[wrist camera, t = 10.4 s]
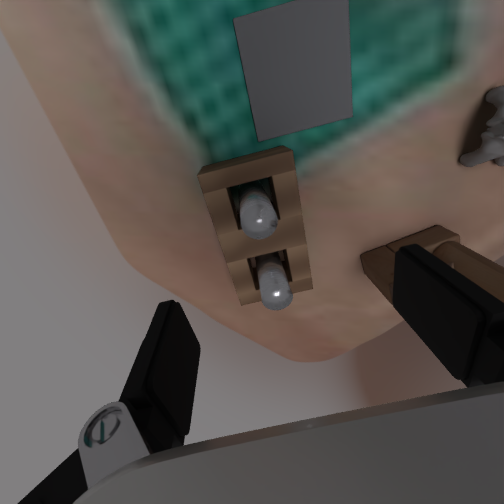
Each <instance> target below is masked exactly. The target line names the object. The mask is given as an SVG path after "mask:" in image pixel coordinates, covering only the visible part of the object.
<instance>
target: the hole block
mask: <svg viewBox="0 0 504 504" xmlns="http://www.w3.org/2000/svg"><path fill="white" fill-rule="evenodd" d="M197 177H198V180H199V183H200V186H201V189H202V192H203V195H204V198H205V201H206V204H207V206H208V209H209V212H210V215H211V218H212V221H213V224H214V227H215V230H216V233H217V236H218V239H219V242H220V245H221V248H222V251H223V254H224V257H225V260H226V263H227V266H228V268H229V271H230V274H231V277H232V280H233V283H234V286H235V289H236V292H237V295H238V298H239V301H240V304H241V306H242V305H246V304H250V303H255V302H259V301H262V298H261V292H260V286H259V279H258V273H257V267H255V268H252V264H251V260H250V258H251V257H255V256H259V255H263V254H267V253H271V252H276V251H280V250H283V254H284V259H285V260H284V261H281V262H282V265H283V268H284V271H285V274H286V277H287V280H288V283H289V285H290V288H291V291H292V294H293V293H297V292H302V291H306V290H310V289H313V284H312V277H311V270H310V264H309V257H308V250H307V243H306V237H305V230H304V223H303V217H302V210H301V203H300V196H299V190H298V183H297V176H296V169H295V163H294V156H293V150H291V149H289V148H287V147H285V146H283V145H282V146H279V147H275V148H271V149H267V150H264V151H260V152H256V153H252V154H249V155H245V156H241V157H237V158H234V159H230V160H226V161H222V162H218V163H215V164H211V165H207V166H203V167H202V169H201V170H200V172H199V173H198V175H197ZM266 177H268V180H269V185H270V190H271V195H272V200H273V205H272V206H273V208H274V211H275V213H276V215H277V218H278V224H277V228H276V230H275V231H274V233H273V234H272V235H270V236H269V237H267V238H264V239H253V238H250V237H249V236H247V235H246V234H245V233H244V231H243V230H242V227H241V218H240V214H237V211H236V207H235V204H234V200H233V197H232V193H231V190H230V187H232V186H235V185H239V184H243V183H247V182H251V181H255V180H258V179H262V178H266Z"/></svg>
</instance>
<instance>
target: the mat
mask: <svg viewBox="0 0 504 504" xmlns="http://www.w3.org/2000/svg"><path fill="white" fill-rule="evenodd" d="M233 23H234V27H235V32H236V37H237V42H238V47H239V51H240V56H241V61H242V66H243V71H244V76H245V80H246V85H247V90H248V95H249V100H250V104H251V109H252V114H253V119H254V124H255V128H256V133H257V138H258V142H260V141H264V140H268V139H271V138H275V137H279V136H283V135H286V134H290V133H294V132H297V131H301V130H305V129H309V128H312V127H316V126H320V125H324V124H327V123H331V122H335V121H339V120H342V119H346V118H350V117H353V111H352V83H351V56H350V29H349V1H348V0H295V1H291V2H288V3H285V4H281V5H278V6H275V7H271V8H268V9H264V10H261V11H258V12H254V13H251V14H247V15H244V16H241V17H237V18H234V19H233Z"/></svg>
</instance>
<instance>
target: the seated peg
mask: <svg viewBox="0 0 504 504" xmlns="http://www.w3.org/2000/svg"><path fill="white" fill-rule="evenodd" d="M255 261H256V267H257V273H258V279H259V286H260V292H261V298H262V303H263V305H264V306H265V307H267V308H268V309H271V310H281V309H284V308H286V307H287V306H288V305H289V304H290V303H291V301H292V299H293V294H292V291H291V288H290V285H289V283H288V280H287V277H286V274H285V271H284V268H283V265H282V262H281V259H280V256H279V253H278V251H276V252H271V253H267V254H263V255H259V256H255Z"/></svg>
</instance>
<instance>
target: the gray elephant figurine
mask: <svg viewBox="0 0 504 504" xmlns="http://www.w3.org/2000/svg"><path fill="white" fill-rule="evenodd" d="M486 101H487V102H489V103H493V104H494V105H495V107H496V108H497V111H496V113H495V115H494V116H493V117H492V118H491V119H490V120H488V121H487V123H486V125H487V126H488V127H490V128H488V129H487V131H486V132H483V133H482V134H481V138H482V145H481V148H479V149H477V150H476V151H474V152H471V153H466V154H464V155H462V156H461V158H460V162H461V164H462V165H464V166H466V167H473V166H475V165H477V164H481V163H484V162H486V161H489V160H492V159H495V162H496V164H497V165H498V166H504V86H499V87H496V88H494V89H492V90H491V91H489V92H488V94H487V95H486Z"/></svg>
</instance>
